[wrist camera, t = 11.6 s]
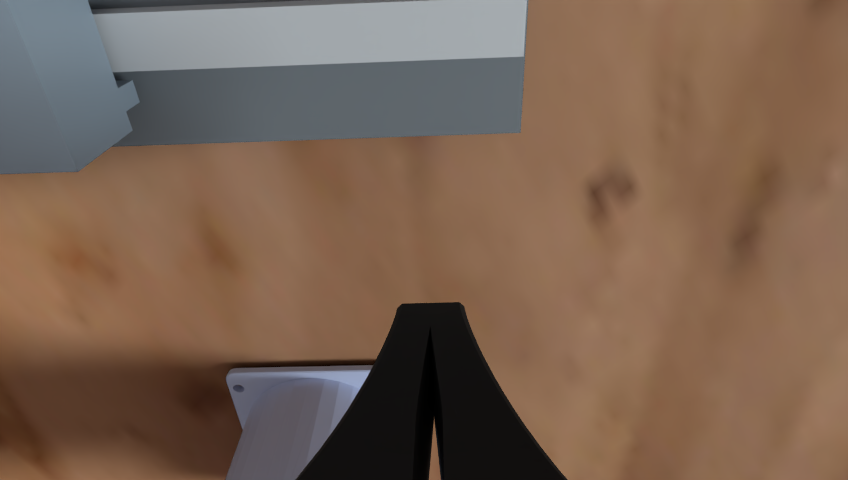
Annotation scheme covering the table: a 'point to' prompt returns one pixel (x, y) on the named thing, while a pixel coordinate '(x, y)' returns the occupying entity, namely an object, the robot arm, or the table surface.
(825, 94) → the table surface
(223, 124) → the rail base
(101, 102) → the carriage
